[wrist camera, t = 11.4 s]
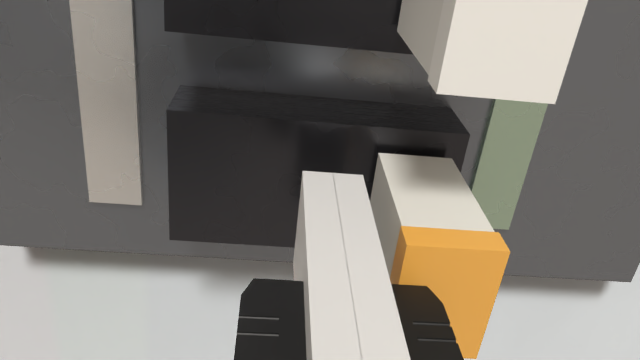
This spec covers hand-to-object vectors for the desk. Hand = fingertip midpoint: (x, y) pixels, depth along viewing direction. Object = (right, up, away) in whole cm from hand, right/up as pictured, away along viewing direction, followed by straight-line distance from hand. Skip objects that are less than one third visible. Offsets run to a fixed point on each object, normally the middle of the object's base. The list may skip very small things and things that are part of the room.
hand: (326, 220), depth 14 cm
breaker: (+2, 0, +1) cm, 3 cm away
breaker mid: (+3, +6, -1) cm, 7 cm away
